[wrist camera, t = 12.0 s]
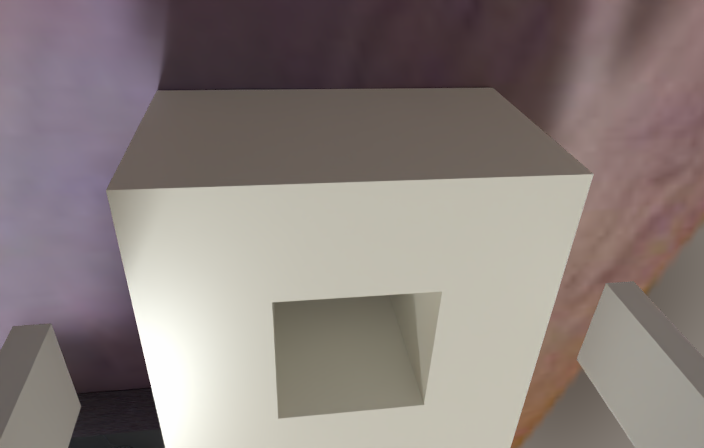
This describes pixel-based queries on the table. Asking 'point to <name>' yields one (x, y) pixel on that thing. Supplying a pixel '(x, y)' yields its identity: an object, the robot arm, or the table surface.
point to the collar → (342, 263)
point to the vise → (117, 420)
